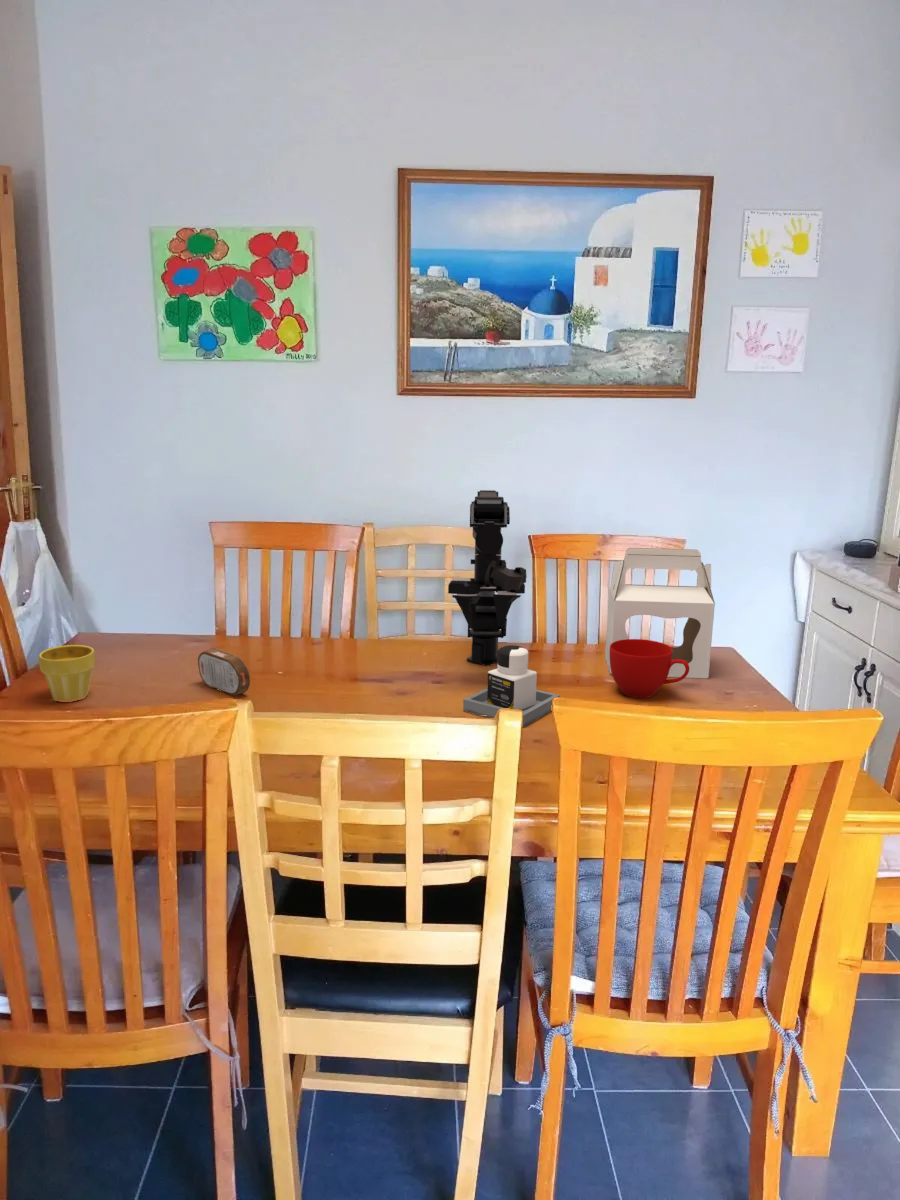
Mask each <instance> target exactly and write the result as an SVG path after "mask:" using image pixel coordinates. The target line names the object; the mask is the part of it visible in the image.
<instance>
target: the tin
mask: <svg viewBox="0 0 900 1200" xmlns="http://www.w3.org/2000/svg"><path fill="white" fill-rule="evenodd" d="M197 664H198V671H199V676H200V678H201V679H202V681H203V683H204V684H205V685H206V686H208V687H209V686H211V687H213V688H212V689H214V688H216V689H219V690H221V691H223V692H222V693H224V692H226V693H228V694H227V695H229V696H232V695H233V697H235V696H238V695H240V694H244V693H246V692H248V690H249V688H250V684H251V678H250V677H251V675H250V672H249V669H248V667H247V664H246V663H245V661H243V659H242V658H241V657H240V656H238V655H236V654H233V653H230V652H227V651H225V650H221V649H220V648H216V647H212V648H209V649H206V650H204V651H202V652H201V653H200V654H199V655H198V657H197ZM211 687H210V688H211ZM216 689H215V690H216ZM219 690H218V691H219ZM221 691H220V692H221ZM226 693H225V694H226Z"/></svg>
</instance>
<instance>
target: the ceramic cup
mask: <svg viewBox="0 0 900 1200" xmlns="http://www.w3.org/2000/svg"><path fill="white" fill-rule="evenodd" d="M671 647H672V646H670V645H668V644H666V643H663V642H660V641H656V640H650V639H643V638H642V639H641V638H640V639H639V638H628V639H625V640H619V641H615V642H613V643H612V644H611V645H610V668H611V672H612V675H611V676H612V677H613V680H614V682H615V684H616V685H617V687H618V688H619V689H620V690H621V692H622V693H623V694H624V695H626V696H627V697H628V696H629V697H633V698H638V699H640V698H641V699H643V698H644V699H645V698H650V697H653V696H654V695H655V694H656V693H657V692H658V691H659V690H660V689H661V688H662V687H663V685H666V684H673V683H678V682H680V681H682V680H684V679H686V678H685V677H686V676H687V675H688V673H689V664H688V663H687V662H686V661H685V660H682V659H675V660H672V652H673V650H672V648H671ZM671 660H672V661H671ZM675 663H682V664H683V665H684V666H685V669H686V670H685V673H684V674H683V675H682V676H681V677H679V678H678V677H675V678H671V679H668V678H669V677H668V674H669V670H670V668H671V666H672V665H673V664H675Z"/></svg>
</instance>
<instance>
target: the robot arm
mask: <svg viewBox="0 0 900 1200" xmlns="http://www.w3.org/2000/svg"><path fill="white" fill-rule="evenodd" d="M504 499H505V498H504V497H503V496H499V491H496V490H495V489H494V490H493V489H492V490H491V489H487V490H484V489H483V490H482V489H481V490H479V491H478V490H477V496H474V500H473V501H471V503H470V505H469V528H472V538H473V539H474V559H470V565H474V576H473V578H472V577H471V578H470V580H450V582H449V583H448V584H447V585H448V587H447V591H448V592H447V593H448V594H449V595H450V594H451V595H452V596H451V597H452V598H453V599H455V601H456V602H457V604H458V606H459V608H460V610H461V612H462V614H463V616H464V618H465V621H466V623H467V638H471V641H472V642H471V655H470V656H469V657H467V658H466V661H467V662H470V661H471V663H475V662H476V663H475V664H479V663H480V664H479V665H483V664H484V666H488V665H489V666H492V665H494V664H497V663H498V650H499V638H501V639H504V637H506V636H507V623H508V618H507V617H508V613H509V611H510V609H511V606H512V605H513V603H514V602H515V601H516V600H517V599H520V598H521V596H522V595H521V594H525V593H526V592H525V591H526V590H525V589H526V583H527V578H528V577H527V568H524V567H521V566H520V567H519V566H518V567H514V569H513V568H508V567H507V562H506V559H502V547H503V545H504V544H503V543H504V536H503V534H502V529H504V528H506V529H507V527H508V525H510V522H511V518H510V517H511V516H510V513H511V512H510V507H509V505H508V504H509V503H508V502H506V501H504ZM496 593H497V594H496ZM493 663H494V664H493ZM491 664H492V665H491Z"/></svg>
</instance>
